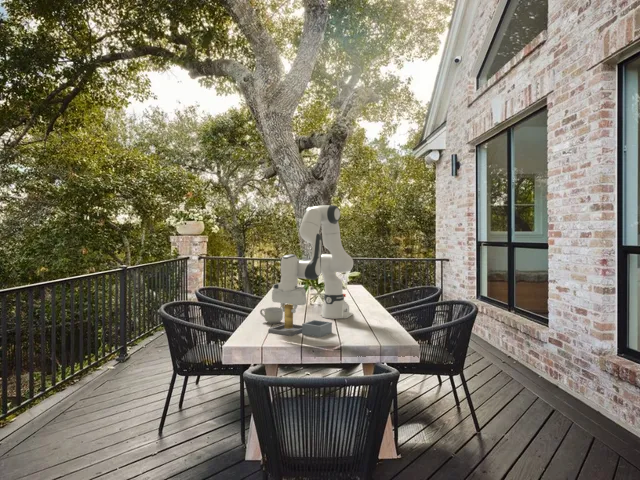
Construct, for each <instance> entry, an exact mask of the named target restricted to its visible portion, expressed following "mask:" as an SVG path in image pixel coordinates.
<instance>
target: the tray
mask: <svg viewBox="0 0 640 480" xmlns="http://www.w3.org/2000/svg"><path fill="white" fill-rule="evenodd" d="M300 333H301V334H302V324H294V323H293V328H291V329H286V328H285V323H283V324H280V325H278V326H273V327H270V328H268V334H277V335H283V336H288V337H292V336H294V335H295V336H296V335H298V334H300Z"/></svg>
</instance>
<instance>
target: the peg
mask: <svg viewBox="0 0 640 480" xmlns="http://www.w3.org/2000/svg"><path fill="white" fill-rule="evenodd" d="M293 308H294V307H293V304H286V303H285V312H284V324H285V328H286V329H291V328H293V324H294V313H291V310H292V309H293Z"/></svg>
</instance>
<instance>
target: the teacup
mask: <svg viewBox="0 0 640 480" xmlns="http://www.w3.org/2000/svg"><path fill="white" fill-rule="evenodd" d="M263 311H264V313H263ZM259 313H260V315H261V316H262V317H263V318H264V321H265V322H267V323H268V324H270V325H271V324H272V325H273V324H279V323H280V322H281V321H283V318H284V315H283V314H284V312H283V311H282V307H279V306H277V307H276V306H273V307H272V306H271V307H266V308H261V309H260V310H259Z"/></svg>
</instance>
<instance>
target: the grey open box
mask: <svg viewBox="0 0 640 480" xmlns="http://www.w3.org/2000/svg"><path fill="white" fill-rule="evenodd" d="M301 325H302V332H301V334H302V335H306V336H309V337H310V336H311V337H312V336H313V337H315V338H316V337H317V338H322V337H324V336H327V335H329V334H332V333H333V322H330V321H324V320H318V319H317V320H316V319H312V320H310V321H309V320H308V321H307V322H304V323H302V324H301Z"/></svg>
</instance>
